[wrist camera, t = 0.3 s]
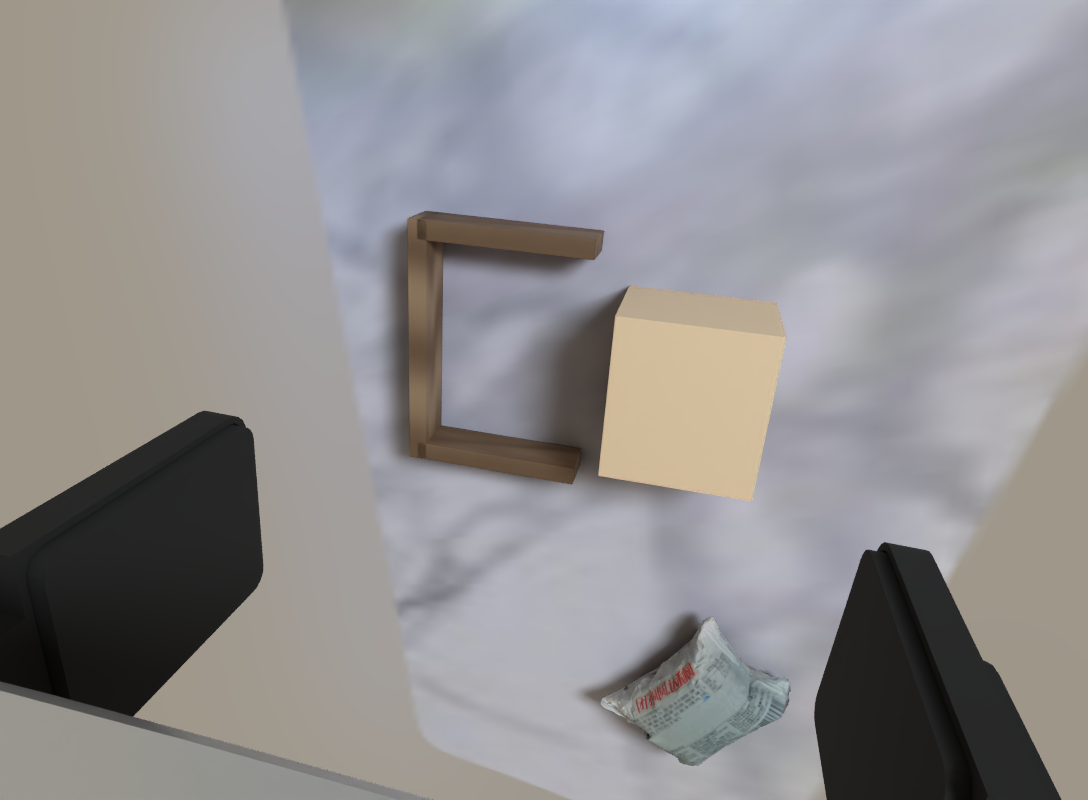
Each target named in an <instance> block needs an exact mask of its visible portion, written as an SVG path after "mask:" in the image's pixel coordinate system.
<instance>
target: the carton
mask: <svg viewBox="0 0 1088 800" xmlns="http://www.w3.org/2000/svg"><path fill="white" fill-rule="evenodd" d="M785 342H786V334H785V330H784V327H783V323H782V319H781V316H780V312H779V309H778V305H777V303H774V302H765V301H756V300H748V299H739V298H731V297H722V296H714V295H705V294H697V293H688V292H680V291H671V290H663V289H654V288H645V287H637V286H629V288H628V290H627V292H626V294H625V296H624V299H623V301H622V303H621V305H620V307H619V309H618V311H617V313H616V316H615V324H614V333H613V342H612V352H611V361H610V371H609V380H608V389H607V399H606V408H605V417H604V427H603V436H602V445H601V455H600V464H599V474H598V476H603V477H609V478H615V479H621V480H627V481H633V482H639V483H645V484H651V485H657V486H663V487H669V488H675V489H681V490H687V491H693V492H699V493H705V494H711V495H717V496H723V497H729V498H735V499H741V500H747V501H752V498H753V494H754V489H755V484H756V479H757V475H758V470H759V465H760V460H761V456H762V451H763V446H764V441H765V437H766V432H767V427H768V422H769V418H770V413H771V408H772V403H773V399H774V394H775V389H776V385H777V380H778V375H779V370H780V366H781V361H782V356H783V351H784V347H785Z"/></svg>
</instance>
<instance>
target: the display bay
mask: <svg viewBox="0 0 1088 800" xmlns="http://www.w3.org/2000/svg"><path fill="white" fill-rule="evenodd" d="M603 234H604V231H602V230H593V229H584V228H575V227H566V226H557V225H548V224H539V223H530V222H521V221H512V220H503V219H494V218H485V217H476V216H467V215H458V214H449V213H440V212H431V211H424V212H422V213H419V214H417V215H414V216H412V217H409V218H408V314H409V423H410V456H412V457H418V458H424V459H429V460H435V461H441V462H447V463H452V464H458V465H464V466H469V467H475V468H481V469H487V470H492V471H498V472H504V473H509V474H515V475H521V476H527V477H532V478H538V479H544V480H549V481H555V482H561V483H567V484H573V481H574V479H575V476H576V473H577V471H578V468H579V465H580V460H581V450H582V449H580V448H574V447H568V446H562V445H556V444H550V443H544V442H538V441H532V440H526V439H520V438H513V437H507V436H501V435H495V434H489V433H483V432H477V431H471V430H465V429H459V428H453V427H447V426H441V398H442V307H443V242H445V243H454V244H462V245H471V246H479V247H487V248H496V249H504V250H513V251H521V252H530V253H538V254H547V255H555V256H563V257H572V258H580V259H589V260H595V259H596V257H597V256H598V255H599V253H600V252H601V251H602V244H603Z"/></svg>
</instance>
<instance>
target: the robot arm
mask: <svg viewBox="0 0 1088 800" xmlns="http://www.w3.org/2000/svg"><path fill="white" fill-rule="evenodd" d="M254 452H255V451H254V438H253V434H252V432H251V430H250V429H248V428H246V427H245V424H244V422H243V420H242V419H240V418H239V417H235V416H230V415H225V414H219V413H214V412H209V411H202V412H199V413H197V414H195V415H194V416H192V417H190V418H189V419H187V420H186V421H184V422H182V423H180V424H178V425H177V426H175V427H173V428H172V429H170V430H168V431H166V432H165V433H163V434H161V435H160V436H158V437H156V438H154V439H153V440H151V441H149V442H148V443H146V444H144V445H143V446H141V447H139V448H138V449H136V450H134V451H132V452H131V453H129V454H127V455H125V456H124V457H122V458H120V459H119V460H117V461H115V462H114V463H112V464H110V465H109V466H107V467H105V468H103V469H101V470H100V471H98V472H96V473H95V474H93V475H91V476H90V477H88V478H86V479H85V480H83V481H81V482H79V483H78V484H76V485H74V486H73V487H71V488H69V489H67V490H66V491H64V492H62V493H61V494H59V495H57V496H55V497H54V498H52V499H50V500H49V501H47V502H45V503H43V504H42V505H40V506H38V507H37V508H35V509H33V510H31V511H30V512H28V513H26V514H25V515H23V516H21V517H19V518H18V519H16V520H14V521H13V522H11V523H9V524H8V525H6V526H4V527H3V528H1V529H0V800H431V799H428V798H425V797H421V796H417V795H414V794H410V793H407V792H403V791H400V790H396V789H393V788H389V787H385V786H382V785H378V784H375V783H371V782H367V781H364V780H361V779H357V778H353V777H350V776H346V775H342V774H339V773H335V772H332V771H328V770H324V769H321V768H318V767H314V766H310V765H307V764H303V763H299V762H296V761H292V760H289V759H285V758H281V757H277V756H274V755H270V754H267V753H264V752H259V751H256V750H253V749H249V748H245V747H242V746H238V745H234V744H231V743H227V742H224V741H220V740H216V739H212V738H209V737H205V736H202V735H198V734H194V733H191V732H187V731H183V730H180V729H176V728H172V727H169V726H165V725H161V724H157V723H154V722H150V721H147V720H142V719H139V718H135V717H133V716H134V715H135V714H136V713H137V712H138V711H139V710H140V709H141V708H142V706H144V705H145V703H147V701H148V700H149V699H150V698H151V697H152V696H153V695H154V694H155V693H156V692H157V691H158V690H159V689H160V688H161V687H162V686H163V685H164V684H165V683H166V682H167V680H169V679H170V678H171V677H172V676H173V674H174V673H175V672H176V671H177V670H178V669H179V668H180V667H181V666H182V665H183V664H184V663H185V662H186V661H187V660H188V659H189V658H190V657H191V656H192V655H193V654H194V652H196V651H197V650H198V648H199V647H200V646H201V645H202V644H203V643H204V642H205V641H206V640H207V639H208V638H209V637H210V636H211V635H212V634H213V633H214V632H215V631H216V630H217V629H218V628H219V627H220V626H221V625H222V623H223V622H224V621H225V620H226V619H227V618H228V617H229V616H230V615H231V614H232V613H233V612H234V611H235V610H236V609H237V608H238V607H239V606H240V605H241V604H242V603H243V602H244V601H245V600H246V598H247V597H248V596H249V595H250V594H251V593H252V592H253V591H254V590H255V589H256V588H257V586H258V584H259V582H260V580H261V577H262V573H263V555H262V542H261V529H260V517H259V503H258V491H257V477H256V464H255V453H254ZM814 719H815V727H816V734H817V740H818V746H819V753H820V759H821V765H822V772H823V778H824V784H825V791H826V797H827V800H1061V798H1060V796H1059V794H1058V792H1057V790H1056V788H1055V786H1054V784H1053V782H1052V780H1051V778H1050V776H1049V774H1048V772H1047V770H1046V768H1045V766H1044V764H1043V762H1042V760H1041V758H1040V756H1039V754H1038V752H1037V750H1036V748H1035V746H1034V744H1033V742H1032V740H1031V738H1030V736H1029V734H1028V732H1027V730H1026V728H1025V725H1024V724H1023V721H1022V719H1021V718H1020V715H1019V713H1018V712H1017V710H1016V707H1015V705H1014V703H1013V701H1012V699H1011V697H1010V696H1009V694H1008V691H1007V690H1006V687H1005V685H1004V684H1003V681H1002V679H1001V677H1000V675H999V674H998V672H997V671H996V669H995V668H994V667H993V665H991V664H989V663H988V662H986V661H983V660H982V658H981V656H980V654H979V651H978V649H977V647H976V645H975V643H974V641H973V639H972V637H971V635H970V633H969V631H968V629H967V626H966V624H965V623H964V620H963V618H962V616H961V614H960V612H959V610H958V608H957V606H956V604H955V601H954V599H953V598H952V595H951V593H950V591H949V589H948V587H947V585H946V583H945V581H944V579H943V577H942V574H941V572H940V570H939V568H938V566H937V564H936V562H935V560H934V558H933V556H932V554H931V553H930V552H929V551H926V550H922V549H917V548H912V547H906V546H901V545H896V544H891V543H886V542H884V543H883V544H881V545H880V547H879V548H878V550H877V551H872V550H866V551H865V552H864V553H863V555H862V558H861V560H860V563H859V567H858V570H857V573H856V576H855V579H854V582H853V585H852V588H851V591H850V594H849V597H848V600H847V604H846V607H845V610H844V613H843V616H842V619H841V622H840V625H839V628H838V631H837V634H836V637H835V641H834V644H833V647H832V650H831V653H830V656H829V659H828V662H827V665H826V668H825V671H824V675H823V678H822V681H821V684H820V687H819V690H818V693H817V697H816V702H815V712H814Z"/></svg>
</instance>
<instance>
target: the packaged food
mask: <svg viewBox="0 0 1088 800" xmlns="http://www.w3.org/2000/svg"><path fill="white" fill-rule="evenodd" d="M790 685H791V683H790V682H789V681H788V679H786V678H785V677H779V678H774V677H770V676H769V675H768V674H765V673H762V672H760V671H758V670H756V669H754V668H752V667H750V666H748V665H746V664H745V663H743V662H742V660H741V659H740V658H738V657H737V655H736V653H735V652H734V650H733V649H732V647H731V646H730V644H729V643H728V642H727V640H726V639H725V637H724V636H723V635H722V633H721V632H720V628H719V625H717V624H716V620H714V617H709V618H707V619H705V620H703V622H702V623H701V624H700V626H699V628H698V631H697V632H696V633H695V635H694V637H693V639H691V640H690V641H689V642H688V643H687V644H686V645H685V646H683V647H682V648H681V649H680V650H679V651H678V652H677V653H675V654H674V655H673V656H671V657H670V658H669V659H668V660H666V661H665V662H663V663H662V664H661V666H659V667H658V668H656V669H654V670H653V671H651V672H649V673H647V674H645V675H644V676H642V677H640V678H639V679H637V680H635V681H634V682H632V683H630V684H628V685H626V686H625V687H623V688H621V689H620V690H619V691H615V692H614V693H612V694H610V695H607V696H605V697H603V698H602V700H601V705H602V706H603V707H604V708H606V709H608V710H610V711H612V712H614V713H616V714H617V715H619V716H622V717H624V718H626V719H627V722H629V723H631V724H634V725H637V726H638V727H640V728H641V729H642V730H643V731H644V733H645V734H646V737H647V738H646V739H648V740H649V741H651V742H652V743H653V744H655V745H656V746H658V747H660V748H662V749H664V750H665V751H667V752H668V753H670V754H672V755H674V756H675V757H677V758H678V760H679V762H680V763H682V764H686V765H691V766H695V765H697V766H699V765H700V764H701V763H702V762H704V761H705V760H706V759H708V758H709V757H711V756H712V755H714V754H715V753H716V752H718V751H719V750H721V749H722V748H723V747H725V746H727V745H729V744H731V743H733V742H734V741H736V740H738V739H739V738H741V737H743V736H745V735H747V734H749V733H751V732H753V731H755V730H757V729H758V728H760V727H762V726H764V725H767V724H769V723H771V722H773V721H775V720H777V719H779V718H781V716H782V714H783V713H784V711H785V709H786V707H787V705H788V702H789V692H790V691H791V689H790ZM630 720H631V721H630Z"/></svg>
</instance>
